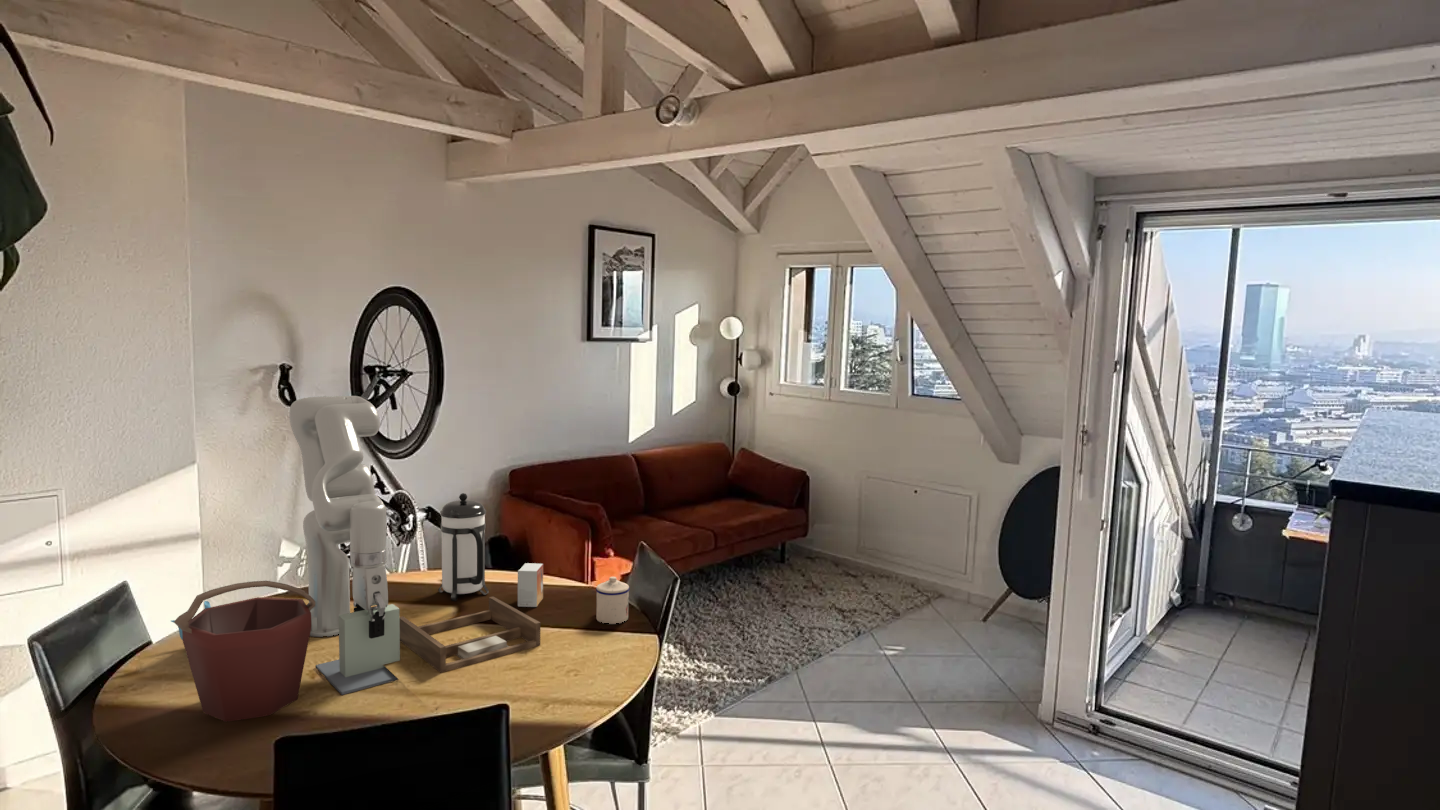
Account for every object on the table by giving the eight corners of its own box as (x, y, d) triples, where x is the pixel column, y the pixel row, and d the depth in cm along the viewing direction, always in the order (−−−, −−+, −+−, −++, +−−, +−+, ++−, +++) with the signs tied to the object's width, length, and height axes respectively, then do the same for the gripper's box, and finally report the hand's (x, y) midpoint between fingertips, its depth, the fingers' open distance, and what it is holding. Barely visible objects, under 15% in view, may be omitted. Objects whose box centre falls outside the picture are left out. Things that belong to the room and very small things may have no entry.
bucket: (169, 736, 152) (164, 607, 149) (192, 687, 172) (188, 574, 170) (314, 714, 162) (311, 593, 159) (320, 671, 182) (318, 563, 179)
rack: (440, 678, 180) (440, 647, 179) (398, 644, 198) (398, 617, 197) (540, 650, 197) (540, 622, 196) (493, 621, 215) (493, 596, 214)
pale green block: (345, 677, 177) (344, 620, 176) (339, 671, 180) (338, 615, 179) (399, 663, 186) (399, 608, 184) (393, 657, 188) (392, 603, 187)
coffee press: (425, 600, 230) (424, 497, 227) (452, 583, 246) (452, 487, 243) (481, 605, 227) (481, 501, 224) (505, 588, 243) (505, 490, 240)
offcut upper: (468, 660, 186) (468, 652, 186) (458, 654, 189) (457, 646, 189) (506, 649, 193) (506, 641, 193) (495, 643, 197) (495, 635, 196)
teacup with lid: (634, 621, 218) (635, 579, 216) (602, 627, 213) (603, 584, 212) (617, 608, 228) (617, 568, 227) (586, 612, 223) (587, 572, 222)
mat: (341, 695, 170) (341, 692, 170) (315, 667, 183) (315, 665, 183) (425, 672, 182) (425, 669, 182) (395, 648, 196) (395, 645, 196)
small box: (536, 607, 227) (537, 571, 226) (517, 607, 227) (517, 570, 226) (543, 598, 235) (543, 563, 234) (524, 597, 235) (524, 562, 234)
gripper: (400, 563, 177) (400, 638, 179) (371, 545, 190) (372, 614, 191) (364, 570, 172) (365, 646, 174) (338, 550, 184) (339, 621, 186)
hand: (368, 629), depth 183 cm, fingers open, 9 cm apart
